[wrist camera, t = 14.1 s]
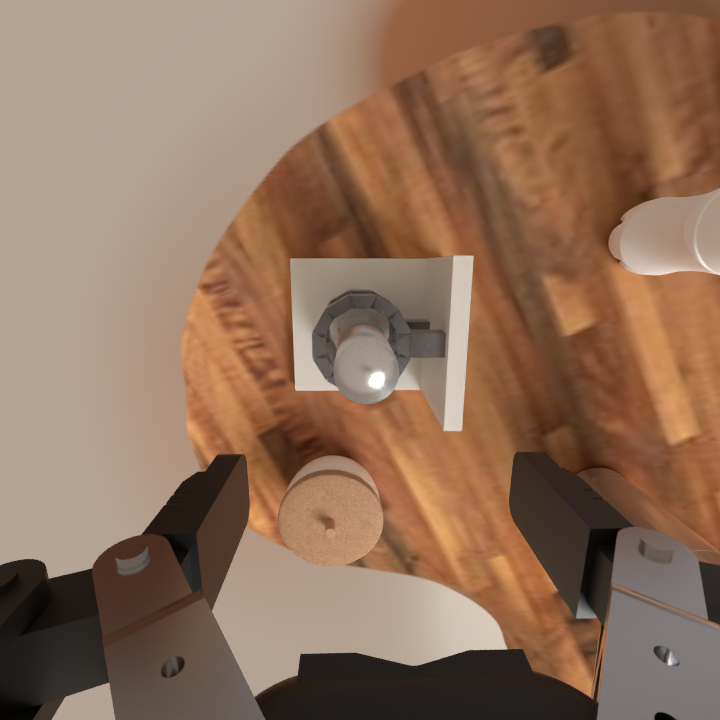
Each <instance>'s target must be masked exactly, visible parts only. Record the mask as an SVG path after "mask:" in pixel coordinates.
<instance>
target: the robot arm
mask: <svg viewBox="0 0 720 720" xmlns="http://www.w3.org/2000/svg"><path fill="white" fill-rule="evenodd" d="M509 505H510V512H511V515H512V518H513V521H514V522H515V524H516V525H517V527H518V529H519V530H520V532H521V533H522V535H523V536H524V538H525V540H526V541H527V543H528V544H529V546H530V547H531V549H532V550H533V552H534V554H535V555H536V557H537V558H538V560H539V561H540V563H541V564H542V566H543V568H544V569H545V571H546V572H547V574H548V575H549V577H550V579H551V580H552V582H553V583H554V585H555V586H556V588H557V589H558V591H559V593H560V594H561V596H562V597H563V599H564V600H565V602H566V604H567V605H568V607H569V608H570V610H571V611H572V613H573V614H574V616H575V618H598V619H599V621H600V622H601V628H600V633H599V640H598V647H597V655H596V662H595V669H594V676H593V684H592V691H591V698H590V697H589V696H587V695H586V694H584V693H583V692H581V691H579V690H577V689H576V688H574V687H572V686H570V685H568V684H566V683H564V682H562V681H560V680H558V679H555V678H553V677H550V676H547V675H544V674H542V673H538V672H534V671H532V669H531V667H530V665H529V662H528V660H527V658H526V656H525V654H524V651H523V649H509V650H469V651H465V652H462V653H458V654H455V655H452V656H448V657H445V658H442V659H439V660H436V661H432V662H429V663H426V664H422V665H418V666H410V665H405V664H400V663H396V662H392V661H388V660H384V659H380V658H375V657H371V656H367V655H363V654H358V653H327V654H301V656H300V663H299V671H298V675H297V676H294V677H291V678H288V679H286V680H283V681H281V682H279V683H277V684H275V685H273V686H271V687H269V688H268V689H266V690H264V691H262V692H261V693H259V694H258V695H257V696H255V697H254V696H253V694H252V692H251V690H250V688H249V686H248V684H247V682H246V680H245V678H244V676H243V674H242V672H241V669H240V667H239V665H238V664H237V661H236V659H235V657H234V655H233V653H232V651H231V649H230V647H229V645H228V643H227V641H226V639H225V637H224V635H223V633H222V631H221V629H220V627H219V625H218V623H217V621H216V619H215V617H214V615H213V613H212V609H213V607H214V604H215V601H216V599H217V597H218V594H219V592H220V589H221V587H222V584H223V582H224V579H225V577H226V574H227V572H228V569H229V567H230V565H231V562H232V560H233V557H234V555H235V552H236V550H237V547H238V545H239V542H240V540H241V537H242V535H243V532H244V530H245V527H246V525H247V522H248V517H249V508H250V501H249V487H248V474H247V461H246V457H245V455H244V454H225V455H217V456H216V457H215V459H214V460H213V462H212V463H211V464H210V466H209V467H208V469H207V470H206V472H197V473H195V474H194V475H192V476H191V477H189V478H188V479H186V480H185V481H183V482H182V483H181V485H180V486H179V487H178V489H177V490H176V491H175V492H174V495H172V496H171V498H170V499H169V500H168V502H167V504H166V505H164V506H163V508H162V509H161V510H160V512H159V513H158V514H157V515H156V517H155V518H154V519H153V521H152V522H151V523H150V524H149V526H148V527H147V528H146V530H145V531H144V532H143V533H142V535H138V536H134V537H131V538H128V539H125V540H123V541H121V542H118V543H117V544H115V545H113V546H111V547H110V548H108V549H107V550H106V551H104V552H103V553H102V554H101V555H100V556H99V557H98V558H97V560H96V561H95V563H94V565H93V568H92V569H88V570H85V571H81V572H76V573H72V574H67V575H63V576H59V577H55V578H51V579H49V578H48V573H47V569H46V566H45V564H44V563H43V562H41V561H39V560H34V559H24V560H17V561H13V562H10V563H5V564H3V565H0V720H52V718H53V716H54V715H55V713H56V711H57V709H58V708H59V706H60V705H61V703H62V701H63V699H64V698H65V697H66V696H69V695H72V694H75V693H78V692H81V691H84V690H87V689H90V688H93V687H96V686H100V685H103V684H106V683H110V689H111V695H112V702H113V708H114V714H115V720H720V551H718V550H717V549H716V548H715V547H713V546H712V545H711V544H709V543H708V542H707V541H706V540H704V539H703V538H702V537H700V536H699V535H698V534H697V533H695V532H694V531H693V530H691V529H690V528H689V527H688V526H686V525H685V524H684V523H682V522H681V521H680V520H679V519H677V518H676V517H675V516H673V515H672V514H671V513H669V512H668V511H667V510H666V509H664V508H663V507H662V506H660V505H659V504H658V503H657V502H655V501H654V500H653V499H651V498H650V497H649V496H648V495H646V494H645V493H644V492H642V491H641V490H640V489H639V488H637V487H636V486H635V485H633V484H632V483H631V482H630V481H628V480H627V479H626V478H624V477H623V476H622V475H620V474H619V473H617V472H616V471H614V470H611V469H607V468H590V469H587V470H584V471H581V472H579V473H577V474H573V473H571V472H570V471H568V470H566V469H564V468H560V467H559V466H558V465H557V464H556V463H555V462H554V461H553V460H552V459H551V458H550V457H549V456H548V455H547V454H546V453H544V452H517V453H516V454H515V456H514V459H513V467H512V477H511V487H510V497H509Z"/></svg>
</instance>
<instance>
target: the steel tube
mask: <svg viewBox="0 0 720 720" xmlns="http://www.w3.org/2000/svg"><path fill="white" fill-rule="evenodd" d="M398 379H399V364H398V361H397V359H396V357H395V355H394V353H393V351H392V349H391V347H390V345H389V343H388V341H387V339H386V336H385V334H384V332H383V330H382V328H381V326H380V324H379V322H378V320H377V318H376V317H375V315H374V314H373V313H372V312H370V311H369V310H366V309H353V310H351V311H349V312H348V313H347V314H346V315H345V316H344V317H343V319H342V322H341V327H340V328H338V330H337V352H336V358H335V364H334V380H335V383H336V386H337V388H338V389H339V391H340V392H341V393H342V394H343V395H344V396H345V397H346V398H348V399H349V400H351V401H353V402H356V403H360V404H372V403H376V402H379V401H381V400H383V399H385V398H386V397H387V396H389V395H390V394H391V393H392V392H393V390H394V389H395V387H396V385H397V383H398Z"/></svg>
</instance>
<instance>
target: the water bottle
mask: <svg viewBox="0 0 720 720" xmlns="http://www.w3.org/2000/svg"><path fill="white" fill-rule="evenodd" d="M620 220H621V221H622V223H621V224H620V225H618V226H617V227H616V228H614V230H613V231H612V233H611V235H610V237H609V242H608V245H609V250H610V252H611V254H612V255H613V256H614V257H615V258H616V259H619V260H621V261H620V262H619V264H620V265H621V266H622V267H623V268H624V269H626V270H628V271H630V272H633V273H637V274H642V275H663V274H668V273H672V272H678V271H700V272H708V273H713V274H718V275H720V188H718V189H716V190H714V191H712V192H710V193H706V194H702V195H698V196H692V197H663V198H658V199H654V200H650V201H646V202H644V203H641V204H639V205H637V206H635V207H633V208H632V209H630V210H629V211H627V212H626V213H625V214H624V215H623V216H622V218H621V219H620Z"/></svg>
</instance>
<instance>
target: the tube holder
mask: <svg viewBox="0 0 720 720" xmlns="http://www.w3.org/2000/svg"><path fill="white" fill-rule="evenodd" d="M473 257H474V256H446V257H436V258H426V259H383V258H290V271H291V296H292V321H293V346H294V371H295V391H325V390H339V389H338V388H337V387H336V386H335V385H333V384H331V383H329V382H327V380H325V378H324V377H323V375H322V373H321V372H320V370H319V369H318V367H317V365H316V364H315V362H314V361H313V359H314V358H313V357H312V333H313V330H314V328H315V326H316V324H317V323H318V321H319V319H320V317H321V315H322V314H323V312H324V310H325V308H326V307H327V305H328V303H329V302H330V301H331V300H332V299H333V298H335V297H337V296H338V295H340V294H342V293H344V292H345V291H347V290H349V292H350V289H370V290H372V291H374V292H376V293H377V294H379V295H381V296H383V297H384V298H386V299H388V300H389V301H390V302H391V303H392V305H394V306H396V307H397V308H398V309H399V310H400V312H401V314H402V315H403V317H404V319H426V320H428V321H429V322H430V329H441V330H442V331H443V332H445V333H446V343H445V358H410V359H411V360H410V361H409V363H408V364H407V366H406V368H405V369H404V371H403V372H402V374H401V376H400V377H399V379H398V383H397V385H396V387H395V389H394V390H421V392H422V393H423V395H424V397H425V399H426V400H427V402H428V404H429V406H430V408H431V409H432V411H433V413H434V415H435V416H436V418H437V420H438V422H439V423H440V425H441V427H442V429H443V431H462V421H463V406H464V391H465V376H466V361H467V347H468V332H469V317H470V302H471V287H472V272H473ZM351 310H353V309H350V310H348V311H347V312H345V313H343V314H342V315H340V316H338V317H336V318H335V319H334V320H333V322H332V324H331V325H330V338H331V339H332V341H333V342H334V344H335V346H336V347H337V330H338V328H340V327H341V322H342V319H343V317H344V316H345V315H346V314H347V313H348V312H349V311H351ZM366 310H369V311H370V312H372V313H373V314H374V315H375V317H376V318H377V320H378V322H379V324H380V326H381V328H382V330H383V332H384V334H385V336H386V339H388V338H389V320H388V318H387V317H386V316H384V315H383V314H381V313H379V312H377V311H376V310H374V309H372V308H369V309H366Z"/></svg>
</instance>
